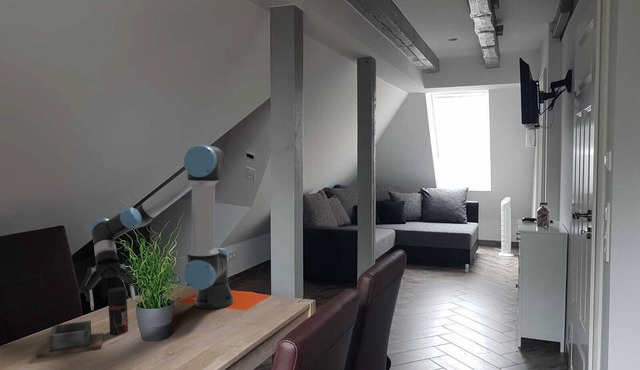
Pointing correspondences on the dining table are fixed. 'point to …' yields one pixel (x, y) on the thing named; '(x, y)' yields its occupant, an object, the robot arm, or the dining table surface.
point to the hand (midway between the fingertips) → (113, 304)
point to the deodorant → (118, 310)
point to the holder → (70, 339)
